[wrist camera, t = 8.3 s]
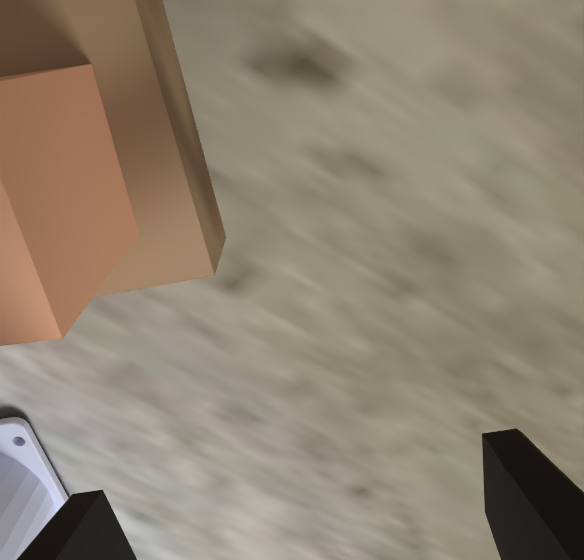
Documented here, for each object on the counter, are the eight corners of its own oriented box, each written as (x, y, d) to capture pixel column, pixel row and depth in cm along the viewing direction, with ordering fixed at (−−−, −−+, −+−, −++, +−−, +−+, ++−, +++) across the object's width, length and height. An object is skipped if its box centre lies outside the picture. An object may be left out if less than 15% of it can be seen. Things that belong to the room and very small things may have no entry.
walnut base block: (227, 233, 18) (214, 275, 15) (17, 272, 19) (-37, 320, 16) (159, -20, 15) (125, -34, 12) (-95, 38, 16) (-192, 39, 12)
